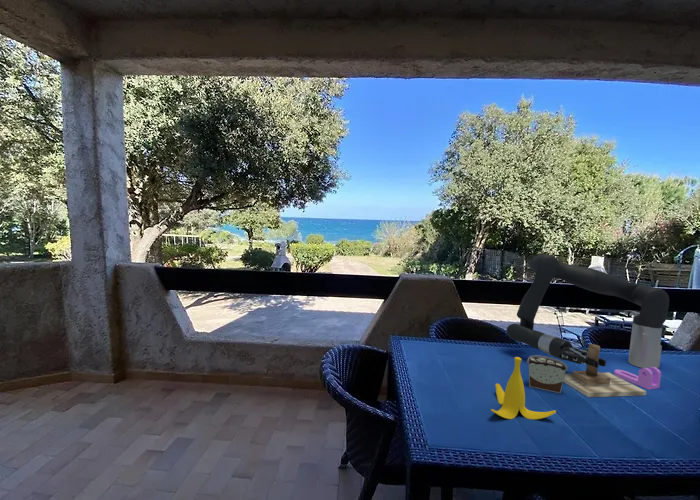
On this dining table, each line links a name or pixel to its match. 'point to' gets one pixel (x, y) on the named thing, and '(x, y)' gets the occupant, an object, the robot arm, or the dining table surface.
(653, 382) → the bracket
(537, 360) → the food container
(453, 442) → the dining table surface
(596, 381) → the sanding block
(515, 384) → the banana peel
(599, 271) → the robot arm
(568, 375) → the pine board
